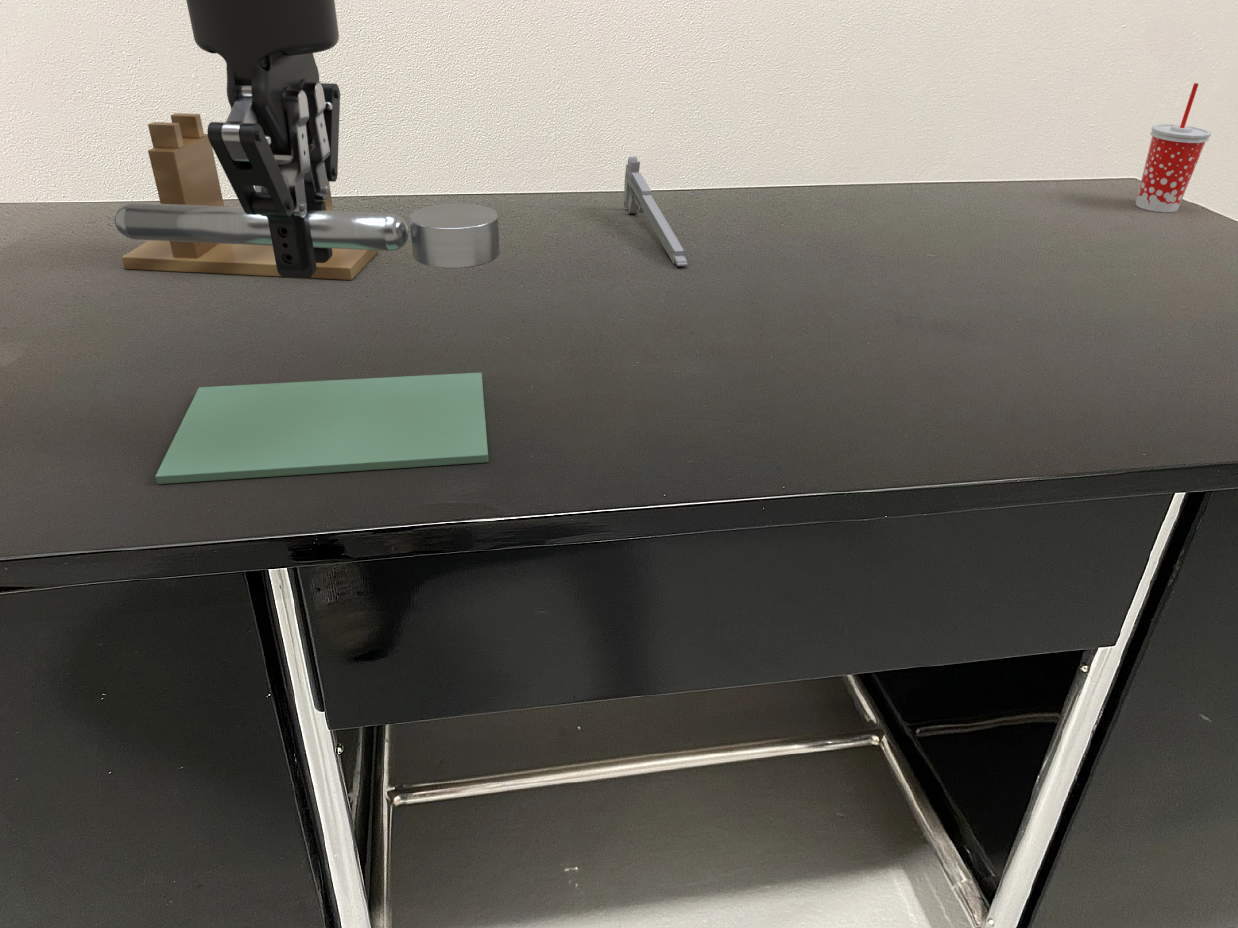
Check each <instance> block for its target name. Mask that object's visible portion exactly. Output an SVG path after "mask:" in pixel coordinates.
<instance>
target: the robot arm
mask: <svg viewBox="0 0 1238 928" xmlns="http://www.w3.org/2000/svg"><path fill="white" fill-rule="evenodd" d="M185 1H186V5H187V10H188V15H189V20H190V26H191V30H192V35H193V40H194V42H195V44H196V45H197V47H198V48H200V49H201V50H203V51H205V53H210V54H217V55H219V56H220V57H222V59H223V60H224V61H225V64H226V68H225V69H226V97H227V100H228V104H229V106H230V112H229V114H228V117H227V119H226V121H223V122H221V121H210V122H209V123H208V125H207V131H206V132H207V133H206V134H208V139H209V142H210V144H211V146H212V149H213V153H215V155H216V158H217V160H218V163H219V164H220V166H221V168H222V170H223V172H224V173H225V177H226V178H227V180H228V181H229V183H230V186H231V188H232V190H233V192H234V193H235V195H236V197H237V200H238V201H239V204H240V207H242V208H243V210H244V212H245V213H246V214H248V215H257V214H259V215H261V216H266V217H267V218H268V223H269V229H270V234H271V239H272V245H273V250H274V256H275V261H276V267H277V271H278V273H279V274H280V275H281V276H282V277H281V276H280V277H281V278H286V279H304V280H305V279H311V278H310V277H311V276H312V275H313V274H314V273H315V272H316V270H317V267H316V263H325V262H327V261H328V260H329V259H330V258H331V257H332V254H333V252H332V248H314V247H313V242H312V237H311V229H310V223H309V216H308V215H306V213H307V210H321V211H326V206H325V202H323V200H327V199H328V196H329V185H328V181H329V183H330V182H332V183H334V182H336V181H337V179H338V174H339V171H338V168H339V143H340V141H339V140H340V139H339V138H340V114H341V113H340V108H341V91H340V87H339V85H338V83H327V82H321V81H320V71H319V68H318V65H317V62H316V59H315V56H314V54H316V53H321V52H326V51H328V50H331V49H333V48H334V47H335V46H336V45H337V44H338V42H339V40H340V39H339V38H340V34H339V33H340V32H339V25H338V16H337V11H336V10H337V9H336V1H335V0H185ZM311 144H313V145H311Z"/></svg>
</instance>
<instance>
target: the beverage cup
mask: <svg viewBox="0 0 1238 928" xmlns="http://www.w3.org/2000/svg"><path fill="white" fill-rule="evenodd" d="M1198 88H1199V83H1198V82H1194V83H1193V86H1192V89H1191V92H1190V95H1189V98H1188V101H1187V104H1186V107H1185V110H1184V113H1183V116H1182V120H1181V121H1180V124H1171V123H1170V124H1167V123H1162V124H1161V123H1160V124H1155V125H1152V126H1151V132H1150V133H1149V134H1150V135H1151V138H1150V142H1149V147H1148V151H1147V156H1146V160H1145V163H1144V167H1143V172H1142V176H1141V179H1140V184H1139V188H1138V193H1137V196H1136V200H1135V206H1136V207H1138V208H1139V209H1142V210H1146V211H1150V212H1156V213H1176V212H1177V211H1178V210H1179V208H1180V206H1181V203H1182V200H1183V198H1184V196H1185V193H1186V190H1187V189H1188V186H1189V183H1190V181H1191V179H1192V176H1193V174H1194V171H1195V168H1196V166H1197V164H1198V162H1199V159H1200V156H1201V155H1202V152H1203V149H1204V147H1205V144H1206V143H1207V142H1209V139H1210V137H1211V135H1212V133H1211V131H1209V130H1207V129H1205V128H1201V127H1197V126H1190V125H1186V124H1187V121H1188V118H1189V115H1190V111H1191V109H1192V105H1193V103H1194V99H1195V97H1196V93H1197V91H1198Z"/></svg>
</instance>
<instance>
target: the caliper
mask: <svg viewBox="0 0 1238 928" xmlns="http://www.w3.org/2000/svg"><path fill="white" fill-rule="evenodd" d="M640 167H641V161H638V156H628V157H627V164H626V165H625V172H624V188H623V189H624V191H623V208H624V209H627V215H637V214H638V213H639V214H644V216H645V217H646V219H647V220H648V223H649V224H650V226H651V227H652V229H653V231H654V232H655V235H656V236H657V238H658V240H659V241H660V244H661V245H662V247H663V249H664V251H665V253H666V254H667V256H668V258H669V260H670V261H671V263H672V265H676V266H677V267H683V266H688V260H687V258H686V256H685V249H684V248H683V246H682V244H681V243H680V241H679V239H678V237H677V236H676V234H675V233H674V231H673V229H672V228H671V226H670V224H669V222H668V221H667V219H666V218H665V216H664V214H663V213H662V211H661V209H660V207H659V206H658V204H657V202H656V201H655V199H654V197H653V196H652V190H651V188H650V186H649V184H648V183H647V181H646V180H645V177H644V175H642V173H641V172H640Z"/></svg>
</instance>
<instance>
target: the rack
mask: <svg viewBox="0 0 1238 928" xmlns="http://www.w3.org/2000/svg"><path fill="white" fill-rule="evenodd" d="M170 119H171V122H161V121H152V122H150V123H148V124H147V127H148V131H149V135H150V139H151V140H150V141H151V144H152V148H150V149H148V150H147V153H148V157H149V161H150V162H149V163H150V166H151V169H152V174H153V178H154V182H155V186H156V190H157V191H156V192H157V195H158V199H159V204H177V205H201V206H225V203H224V199H223V193H222V190H221V189H222V188H221V183H220V180H219V174H218V169H217V164H216V159H215V155H214V150H213V148H212V146H211V144H210V142H209V139H208V133H205V132H204V127H203V123H202V118H201V114H200V113H185V112H183V113H182V112H175V113H172V114H171V115H170ZM311 145H313V144H311ZM330 184H331V183H330V182H329V181H328V185H329V196H328V199H327V200H323V202H325V206H326V211H334V205H333V199H332V192H331V185H330ZM332 252H333V254H332V257H331V258H330V259H329V260H328V261H327V262H325V263H316V267H317V270H316V272H315V273H314V274H313V275H312V276H311V277H310V278H309V279H325V280H341V281H342V280H343V281H344V280H345V281H352V280H353V279H354V278H355V277H356V276H357V275H358V274H359V273H361V271H362V270H363V269H364V268H365V267H366V265H367V264H368V263H369V262H370V261H372V259H373V258H374V257H375V256H376V255H377V254H378V253H379V250H359V249H337V248H332ZM121 261H122V265H123V268H124V269H125V270H137V271H138V270H139V271H140V270H141V271H157V272H158V271H159V272H181V273H201V274H202V273H203V274H221V275H222V274H223V275H224V274H225V275H242V276H259V277H261V276H263V277H281V278H283V277H282V276H281V275H280V274H279V273H278V271H277V267H276V261H275V256H274V250H273V246H269V245H247V244H224V243H201V242H179V241H156V240H146V241H145V242H144V243H142V244H140V245H139V246H137V247H135V248H134V249H132V250H131V251H129V252H128V253H126V254H124V255H122V256H121Z"/></svg>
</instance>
